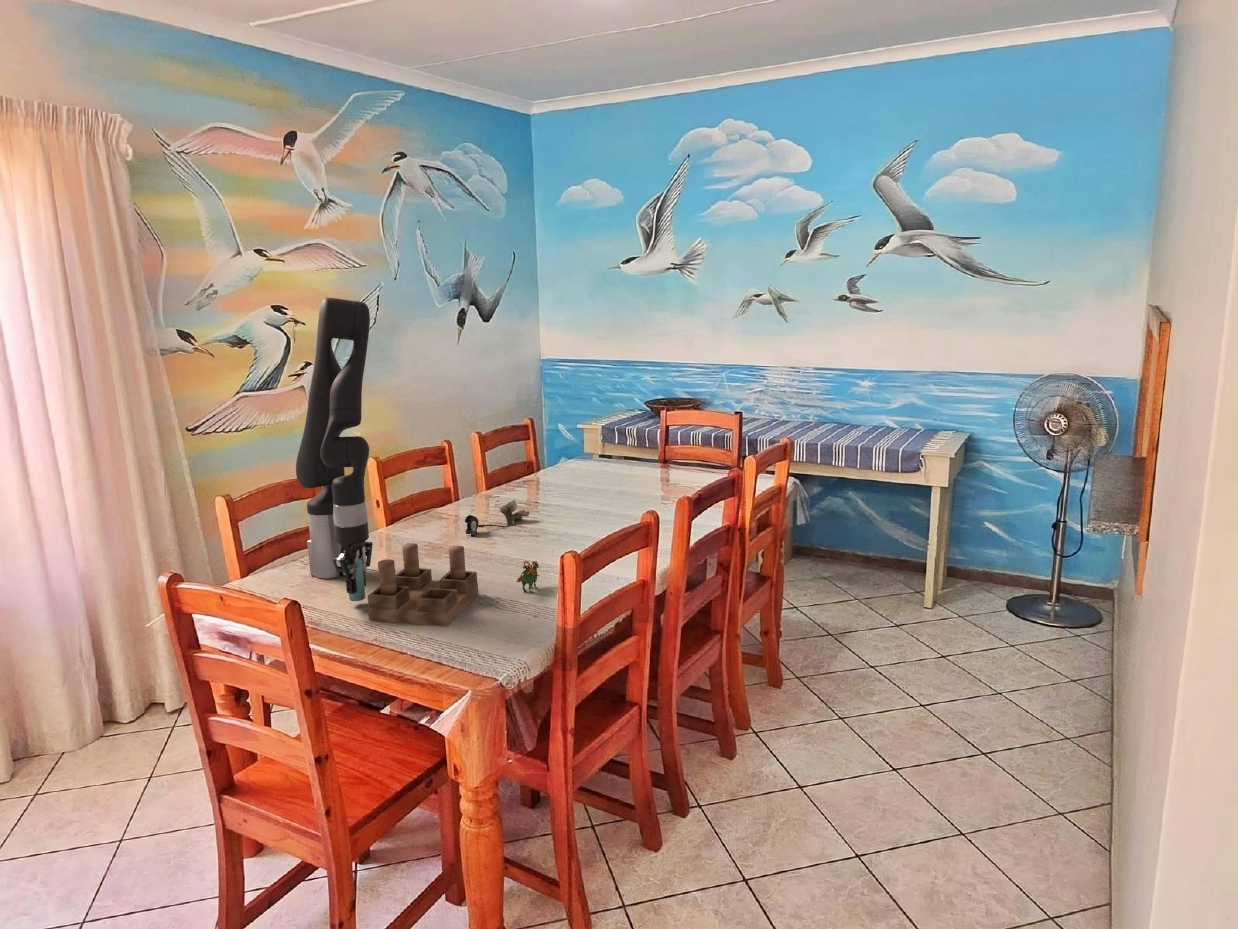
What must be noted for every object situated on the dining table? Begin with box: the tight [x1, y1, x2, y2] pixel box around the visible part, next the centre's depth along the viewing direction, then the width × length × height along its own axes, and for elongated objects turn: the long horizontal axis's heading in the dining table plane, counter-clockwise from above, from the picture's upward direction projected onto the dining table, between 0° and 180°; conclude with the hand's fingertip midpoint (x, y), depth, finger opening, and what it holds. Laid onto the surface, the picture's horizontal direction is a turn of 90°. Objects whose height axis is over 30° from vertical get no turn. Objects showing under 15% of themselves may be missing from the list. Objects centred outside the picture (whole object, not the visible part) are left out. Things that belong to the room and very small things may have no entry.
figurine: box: [515, 560, 540, 594], centre depth 201 cm, size 3×12×8 cm, turn 160°
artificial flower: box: [464, 499, 530, 537], centre depth 255 cm, size 9×22×10 cm, turn 134°
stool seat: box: [367, 542, 480, 627], centre depth 192 cm, size 19×19×13 cm
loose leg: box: [347, 558, 366, 602], centre depth 194 cm, size 4×4×10 cm
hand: (356, 589), depth 194 cm, fingers closed on loose leg, 3 cm apart
